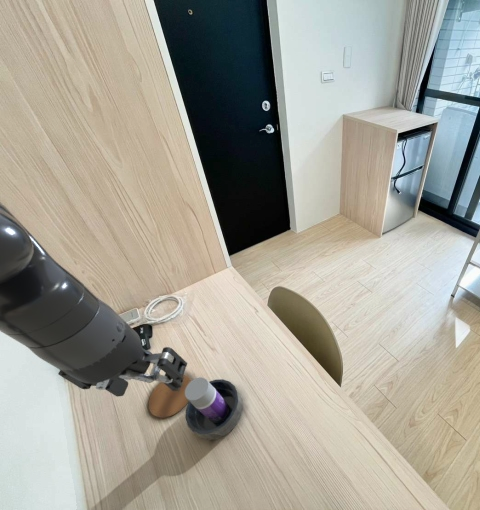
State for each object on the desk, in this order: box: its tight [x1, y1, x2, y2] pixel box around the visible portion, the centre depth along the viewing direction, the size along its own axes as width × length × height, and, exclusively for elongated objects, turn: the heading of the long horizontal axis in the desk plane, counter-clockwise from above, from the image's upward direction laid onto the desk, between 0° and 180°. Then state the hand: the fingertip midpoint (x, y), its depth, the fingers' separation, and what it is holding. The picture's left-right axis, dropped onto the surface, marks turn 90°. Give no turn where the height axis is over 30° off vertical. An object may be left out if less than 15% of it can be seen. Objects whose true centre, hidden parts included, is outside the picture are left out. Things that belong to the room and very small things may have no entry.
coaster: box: [148, 374, 192, 419], centre depth 67 cm, size 10×10×1 cm
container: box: [185, 377, 229, 423], centre depth 59 cm, size 5×5×15 cm
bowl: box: [184, 378, 244, 441], centre depth 63 cm, size 11×11×6 cm
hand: (151, 387), depth 44 cm, fingers open, 8 cm apart
